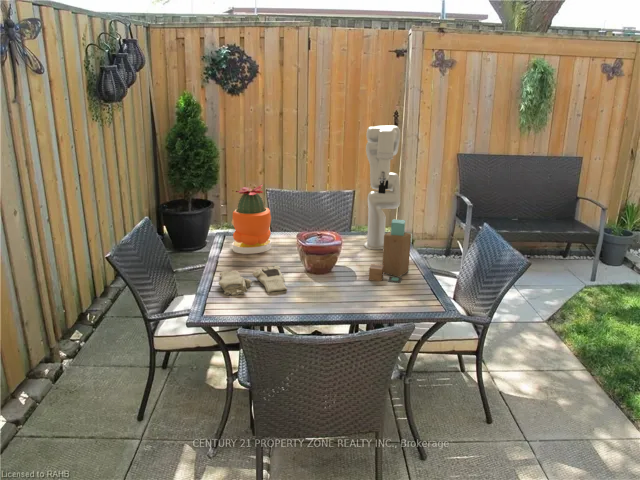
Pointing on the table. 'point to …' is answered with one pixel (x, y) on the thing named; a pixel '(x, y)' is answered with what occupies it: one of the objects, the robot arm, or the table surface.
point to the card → (394, 279)
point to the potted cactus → (251, 223)
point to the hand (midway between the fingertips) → (383, 191)
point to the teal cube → (398, 227)
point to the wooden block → (396, 254)
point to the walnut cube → (376, 272)
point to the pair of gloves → (237, 284)
